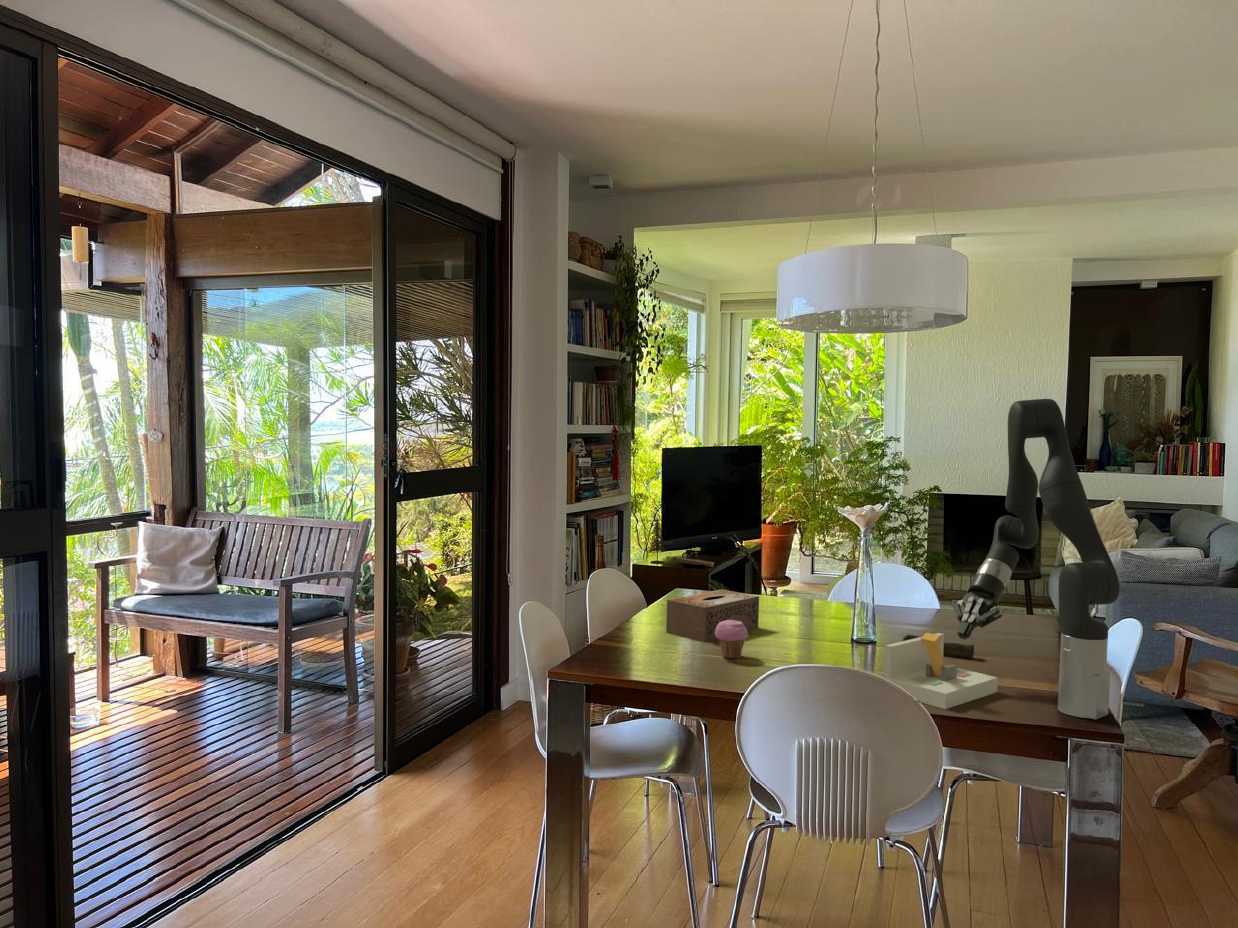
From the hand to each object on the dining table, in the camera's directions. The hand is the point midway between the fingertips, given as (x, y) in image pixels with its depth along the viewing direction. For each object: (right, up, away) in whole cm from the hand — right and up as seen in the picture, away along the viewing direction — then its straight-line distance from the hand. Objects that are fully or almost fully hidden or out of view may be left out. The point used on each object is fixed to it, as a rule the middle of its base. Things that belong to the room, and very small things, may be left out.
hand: (961, 636), depth 223 cm
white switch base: (-7, -12, -5) cm, 15 cm away
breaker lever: (-7, -9, -5) cm, 12 cm away
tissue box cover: (-54, -9, +55) cm, 77 cm away
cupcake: (-53, -10, +24) cm, 59 cm away
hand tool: (+4, -11, +31) cm, 33 cm away
